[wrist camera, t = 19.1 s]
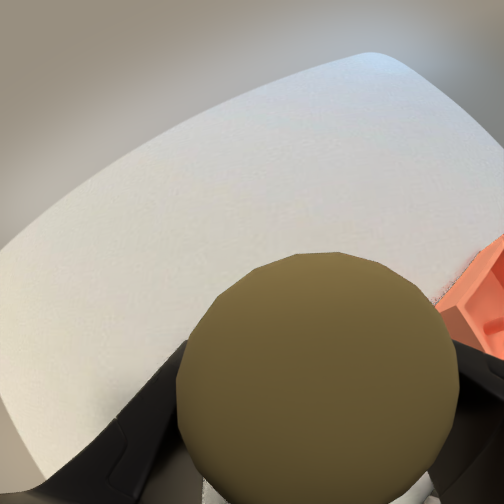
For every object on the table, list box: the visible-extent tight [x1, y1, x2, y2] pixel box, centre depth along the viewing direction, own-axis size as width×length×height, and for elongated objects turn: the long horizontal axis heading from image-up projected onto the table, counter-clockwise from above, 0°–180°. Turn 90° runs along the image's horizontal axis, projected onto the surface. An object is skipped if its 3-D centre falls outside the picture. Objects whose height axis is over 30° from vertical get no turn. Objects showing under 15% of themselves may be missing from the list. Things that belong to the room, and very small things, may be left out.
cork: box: [176, 252, 460, 504], centre depth 8 cm, size 6×6×11 cm
